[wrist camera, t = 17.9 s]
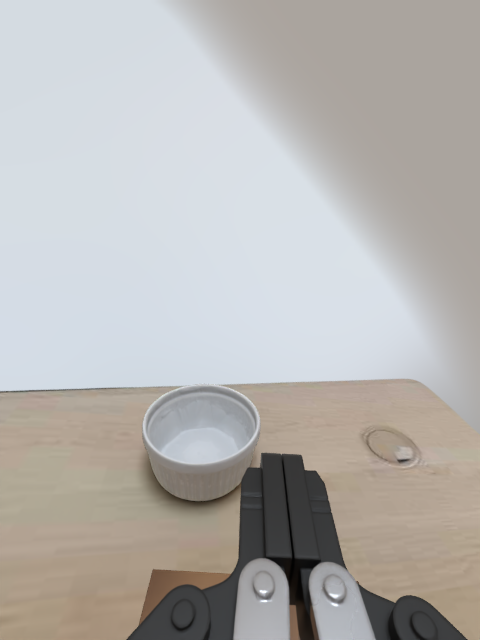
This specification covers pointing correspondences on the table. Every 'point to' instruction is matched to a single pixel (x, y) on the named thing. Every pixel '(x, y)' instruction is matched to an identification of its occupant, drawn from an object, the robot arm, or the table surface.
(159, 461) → the ramekin
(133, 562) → the table surface
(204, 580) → the carton
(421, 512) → the table surface
